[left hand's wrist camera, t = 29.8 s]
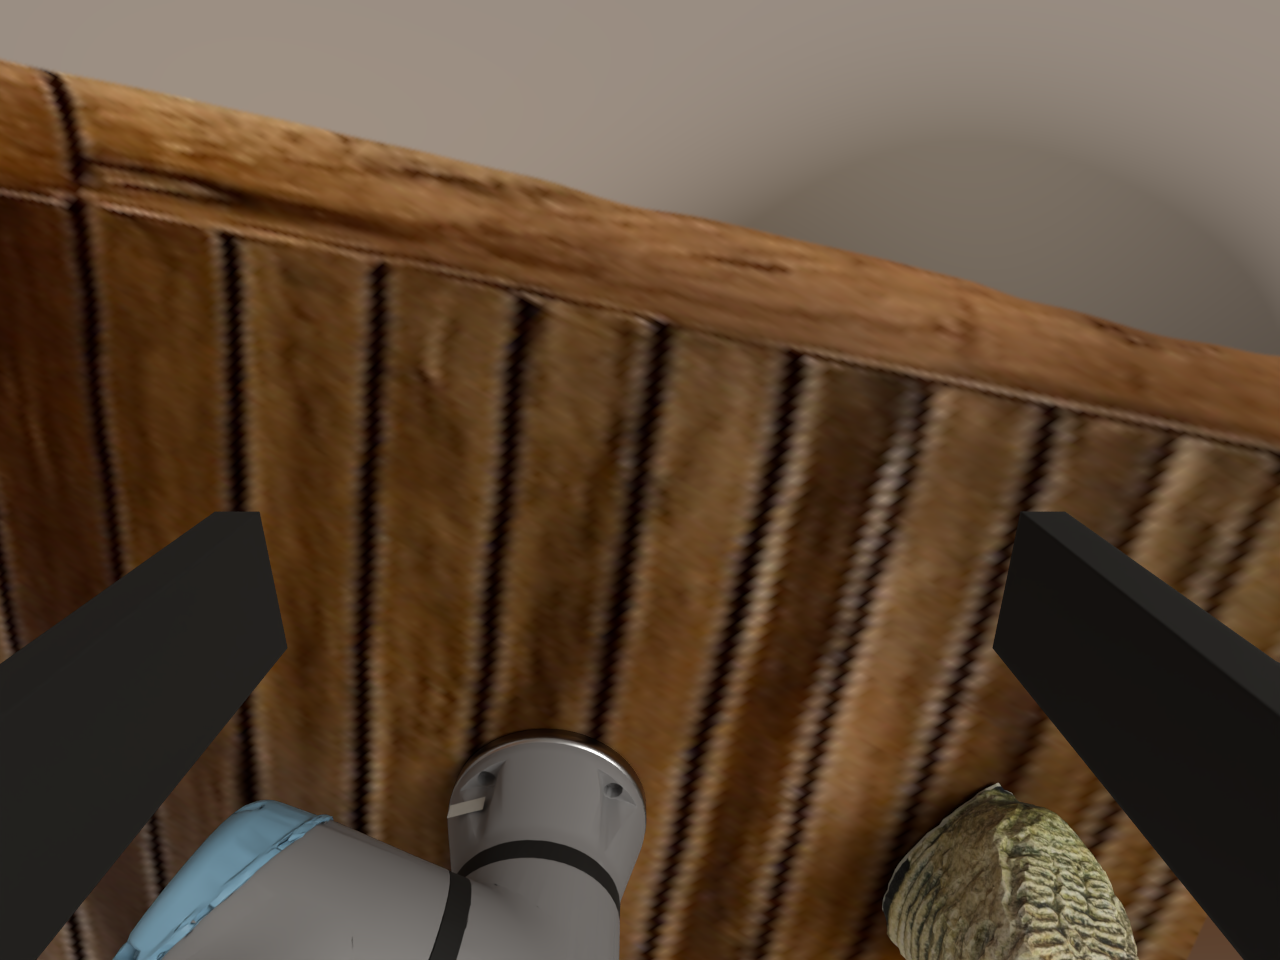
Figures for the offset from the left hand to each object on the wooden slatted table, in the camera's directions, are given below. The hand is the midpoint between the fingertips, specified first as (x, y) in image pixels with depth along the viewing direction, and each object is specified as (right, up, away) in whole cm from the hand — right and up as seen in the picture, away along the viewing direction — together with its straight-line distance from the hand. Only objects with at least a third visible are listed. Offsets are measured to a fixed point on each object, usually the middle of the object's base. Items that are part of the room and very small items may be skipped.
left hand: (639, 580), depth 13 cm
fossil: (+26, -28, +46) cm, 60 cm away
